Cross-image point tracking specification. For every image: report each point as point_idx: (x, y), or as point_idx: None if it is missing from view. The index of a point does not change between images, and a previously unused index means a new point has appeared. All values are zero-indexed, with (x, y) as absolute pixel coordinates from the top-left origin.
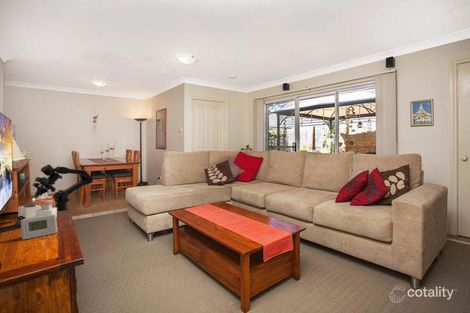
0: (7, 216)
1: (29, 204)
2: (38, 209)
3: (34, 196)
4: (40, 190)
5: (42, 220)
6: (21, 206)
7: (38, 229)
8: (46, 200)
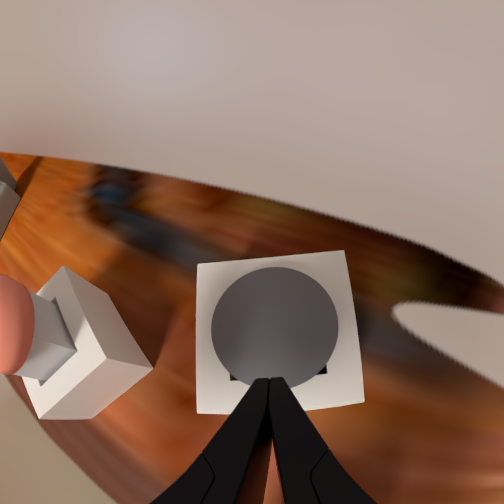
0: (389, 247)
1: (255, 313)
2: (76, 300)
3: (276, 381)
4: (153, 502)
5: None
6: (332, 271)
7: None
8: (5, 340)
